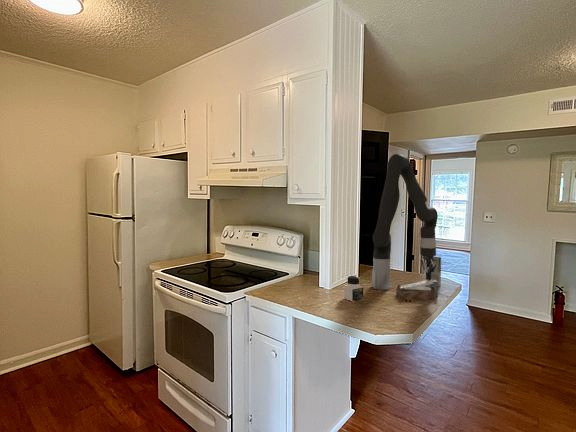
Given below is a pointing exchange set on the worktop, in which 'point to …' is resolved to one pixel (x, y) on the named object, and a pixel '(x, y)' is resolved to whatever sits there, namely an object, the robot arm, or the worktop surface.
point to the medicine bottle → (353, 289)
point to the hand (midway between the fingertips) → (428, 279)
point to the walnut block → (416, 293)
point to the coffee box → (436, 271)
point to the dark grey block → (435, 287)
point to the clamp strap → (417, 284)
